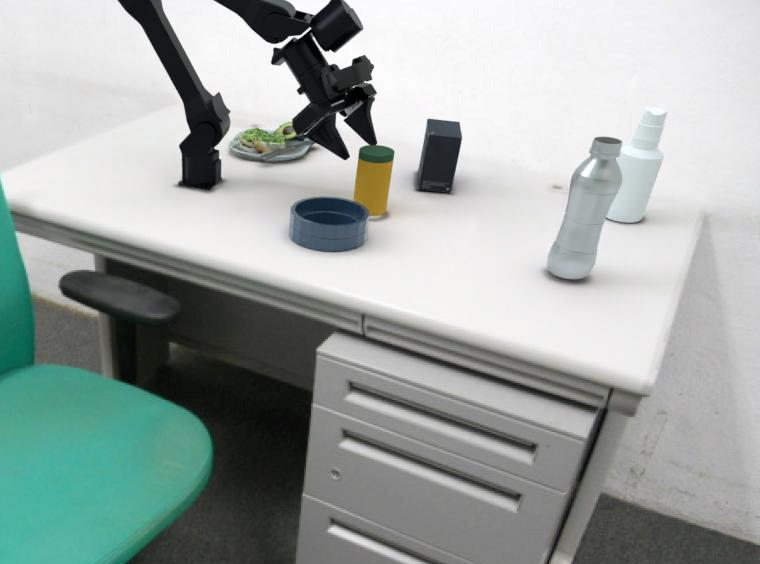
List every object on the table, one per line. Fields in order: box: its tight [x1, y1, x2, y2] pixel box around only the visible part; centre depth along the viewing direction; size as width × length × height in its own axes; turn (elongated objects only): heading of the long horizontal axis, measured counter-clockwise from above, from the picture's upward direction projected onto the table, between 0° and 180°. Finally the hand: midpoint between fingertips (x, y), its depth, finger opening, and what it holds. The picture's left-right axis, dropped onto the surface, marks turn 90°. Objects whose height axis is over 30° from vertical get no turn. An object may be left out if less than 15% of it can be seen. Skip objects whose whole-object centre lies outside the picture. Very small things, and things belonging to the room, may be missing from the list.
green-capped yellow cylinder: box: [352, 144, 396, 217], centre depth 131 cm, size 6×6×11 cm
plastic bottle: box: [546, 136, 623, 280], centre depth 110 cm, size 6×7×20 cm
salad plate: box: [227, 121, 316, 163], centre depth 159 cm, size 19×18×5 cm
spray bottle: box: [605, 106, 669, 223], centre depth 130 cm, size 7×7×18 cm
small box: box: [416, 118, 463, 194], centre depth 144 cm, size 11×6×10 cm, turn 168°
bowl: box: [288, 195, 371, 253], centre depth 123 cm, size 12×12×5 cm
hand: (361, 152), depth 129 cm, fingers open, 9 cm apart
